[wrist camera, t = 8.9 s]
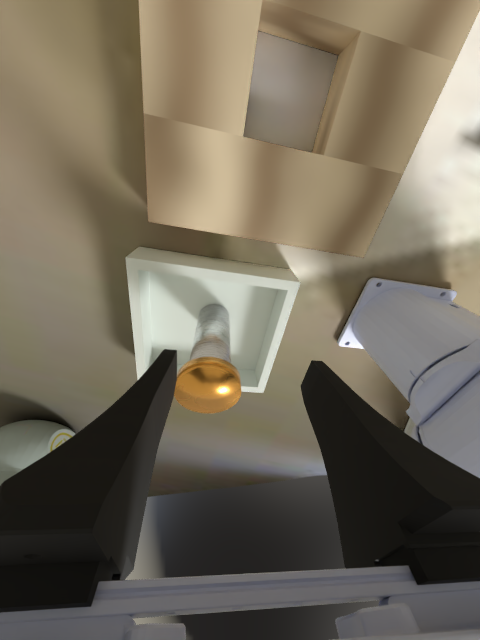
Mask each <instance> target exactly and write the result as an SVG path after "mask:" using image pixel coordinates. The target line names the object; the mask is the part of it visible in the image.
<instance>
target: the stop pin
mask: <svg viewBox="0 0 480 640" xmlns="http://www.w3.org/2000/svg"><path fill="white" fill-rule="evenodd" d="M174 396H175V398H176V400H177V401H178V402H179V403H180V404H181V405H182V406H183V407H185V408H187V409H189V410H191V411H194V412H199V413H217V412H221V411H224V410H227V409H229V408H230V407H232V406H233V405H235V404H236V403H237V401H238V400H239V398H240V396H241V380H240V374H239V372H238V370H237V369H236V367H235V366H234V365H232V364H231V349H230V316H229V312H228V311H227V309H226V308H225V307H223V306H222V305H219V304H208V305H206V306H204V307H203V308H202V309H201V310H200V312H199V315H198V320H197V325H196V331H195V336H194V341H193V346H192V351H191V356H190V361H189V362H187V363H185V364H184V365H183V366H182V367H181V368H180V369H179V371H178V374H177V381H176V386H175V391H174Z"/></svg>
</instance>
